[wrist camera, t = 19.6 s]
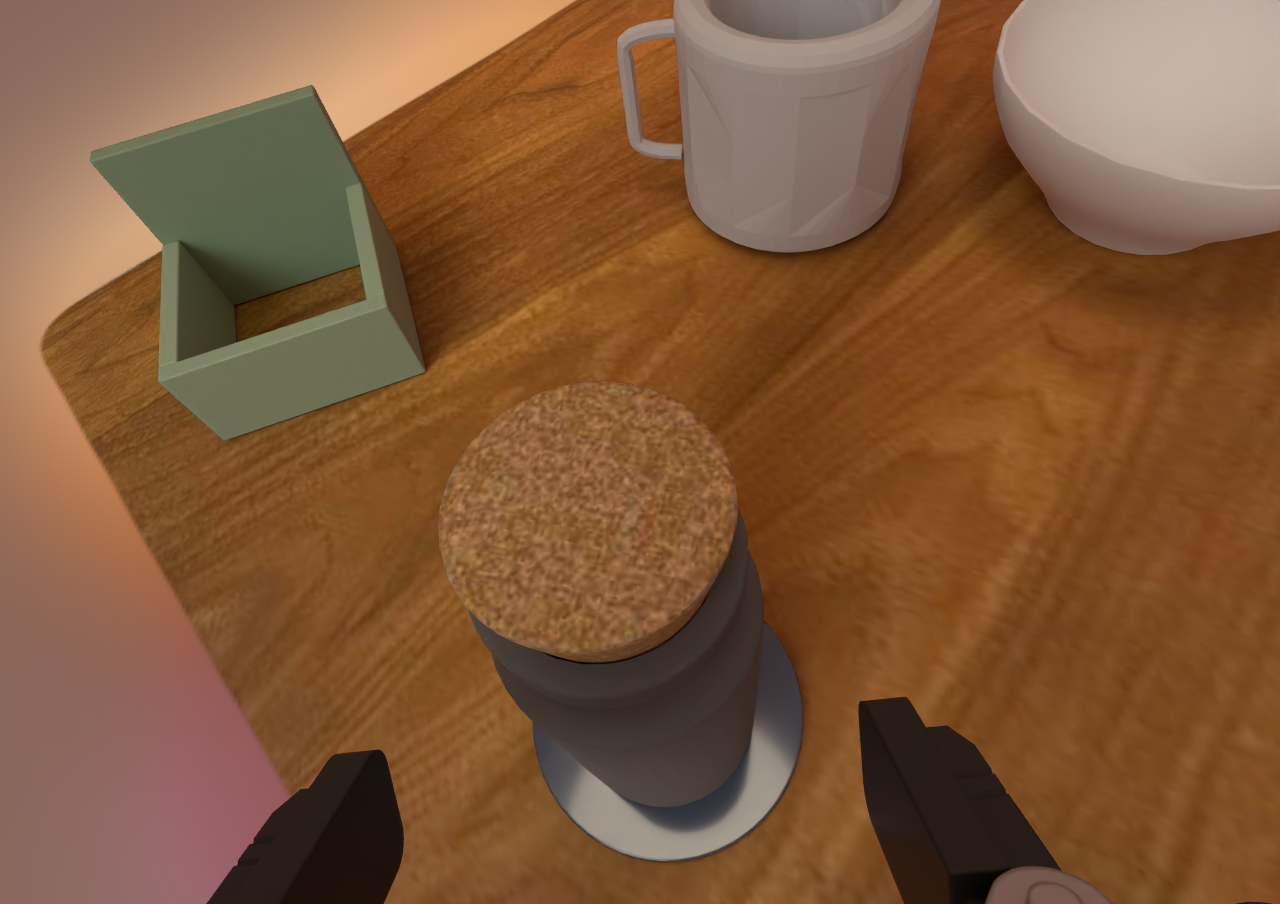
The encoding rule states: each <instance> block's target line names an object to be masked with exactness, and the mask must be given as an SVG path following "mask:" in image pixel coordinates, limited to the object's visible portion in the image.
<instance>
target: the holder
mask: <svg viewBox="0 0 1280 904" xmlns="http://www.w3.org/2000/svg"><path fill="white" fill-rule="evenodd" d="M90 162H91V163H92V164H93V166H94V167H95V168H96V169H97V170H98V171H99V172H100V174H101V175H102V176H103V177H104V178H105V179H106V180H107V182H108V183H109V184H110V185H111V186H112V187H113V188H114V190H115V191H116V192H117V193H118V194H119V195H120V196H121V197H122V198H123V200H124V201H125V202H126V203H127V204H128V205H129V207H130V208H131V209H132V210H133V211H134V212H135V213H136V214H137V216H138V217H139V218H140V219H141V220H142V221H143V223H144V224H145V225H146V226H147V227H148V228H149V229H150V230H151V232H152V233H153V234H154V235H155V236H156V237H157V238H158V240H160V242H161V243H162V244H163V251H162V280H161V308H160V337H159V365H158V366H159V369H158V382H159V383H160V384H161V385H162V386H163V387H164V388H165V389H167V390H168V391H169V392H170V393H171V394H172V395H173V396H174V397H176V398H177V399H178V400H179V401H180V402H181V403H182V404H183V405H185V406H186V407H187V408H188V409H189V410H190V411H191V412H192V413H194V414H195V415H196V416H197V417H198V418H199V419H200V420H201V421H203V422H204V423H205V424H206V425H207V426H208V427H209V428H210V429H211V430H213V431H214V432H215V433H216V434H217V435H218V436H219V437H220V438H222V439H223V440H228V439H231V438H234V437H237V436H240V435H243V434H246V433H249V432H252V431H255V430H258V429H261V428H263V427H266V426H269V425H272V424H275V423H278V422H281V421H284V420H287V419H290V418H293V417H296V416H299V415H302V414H304V413H307V412H310V411H313V410H316V409H319V408H322V407H325V406H328V405H331V404H334V403H337V402H340V401H343V400H346V399H348V398H351V397H354V396H357V395H360V394H363V393H366V392H369V391H372V390H375V389H378V388H381V387H384V386H387V385H390V384H392V383H395V382H398V381H401V380H404V379H407V378H410V377H413V376H416V375H419V374H422V373H425V372H426V370H425V365H424V361H423V357H422V353H421V348H420V344H419V340H418V336H417V332H416V327H415V323H414V319H413V315H412V311H411V306H410V302H409V298H408V294H407V290H406V285H405V281H404V277H403V273H402V269H401V264H400V260H399V256H398V252H397V248H396V244H395V242H394V240H393V238H392V236H391V234H390V232H389V230H388V228H387V226H386V224H385V222H384V221H383V219H382V217H381V215H380V213H379V211H378V209H377V207H376V205H375V203H374V201H373V199H372V197H371V196H370V194H369V192H368V190H367V188H366V186H365V184H364V182H363V180H362V178H361V176H360V174H359V173H358V171H357V169H356V167H355V165H354V163H353V161H352V159H351V157H350V155H349V153H348V151H347V149H346V148H345V146H344V144H343V142H342V140H341V138H340V136H339V134H338V132H337V130H336V128H335V127H334V124H333V123H332V121H331V119H330V117H329V115H328V113H327V111H326V109H325V107H324V105H323V104H322V102H321V100H320V98H319V96H318V94H317V92H316V90H315V88H314V87H313V86H312V85H310V86H307V87H303V88H300V89H296V90H294V91H290V92H286V93H283V94H280V95H277V96H273V97H270V98H267V99H263V100H260V101H257V102H253V103H250V104H247V105H244V106H240V107H237V108H233V109H230V110H227V111H223V112H220V113H217V114H214V115H210V116H207V117H203V118H200V119H197V120H194V121H191V122H187V123H184V124H180V125H177V126H174V127H170V128H167V129H164V130H160V131H157V132H154V133H150V134H147V135H144V136H140V137H137V138H134V139H131V140H127V141H124V142H121V143H117V144H114V145H111V146H107V147H104V148H101V149H98V150H94V151H92V152H91V156H90ZM357 265H360V268H361V273H362V278H363V283H364V289H365V294H366V299H367V300H364V301H361V302H358V303H355V304H352V305H349V306H346V307H343V308H340V309H337V310H334V311H331V312H327V313H324V314H321V315H318V316H315V317H312V318H309V319H306V320H303V321H300V322H297V323H294V324H291V325H288V326H285V327H282V328H279V329H276V330H273V331H270V332H267V333H264V334H261V335H258V336H255V337H252V338H249V339H246V340H243V341H240V342H236V328H235V307H234V305H237V304H240V303H243V302H247V301H250V300H253V299H256V298H259V297H262V296H265V295H268V294H271V293H274V292H277V291H280V290H283V289H287V288H290V287H293V286H296V285H299V284H302V283H305V282H308V281H311V280H314V279H317V278H320V277H323V276H326V275H330V274H333V273H336V272H339V271H342V270H345V269H348V268H351V267H354V266H357Z"/></svg>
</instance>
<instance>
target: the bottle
mask: <svg viewBox="0 0 1280 904" xmlns="http://www.w3.org/2000/svg"><path fill="white" fill-rule="evenodd" d="M438 533H439V545H440V552H441V557H442V561H443V565H444V568H445V572H446V574H447V577H448V579H449V581H450V583H451V585H452V586H453V588H454V589H455V591H456V592H457V594H458V596H459V597H460V599H461V600H462V602H463V604H464V605H465V606H466V607H467V608H468V609H469V613H470V616H471V618H472V621H473V623H474V625H475V627H476V630H477V632H478V633H479V635H480V637H481V638H482V640H483V642H484V643H485V645H486V646H487V647H488V649H489V650H490V652H491V653H492V657H493V660H494V664H495V667H496V669H497V672H498V674H499V676H500V678H501V680H502V682H503V684H504V686H505V688H506V690H507V691H508V693H509V694H510V695H511V697H512V698H513V699H514V701H515V702H516V703H517V705H518V706H519V707H520V709H521V710H522V711H523V712H524V713H525V714H526V715H527V716H528V717H529V718H530V719H531V720H532V721H533V722H534V723H535V724H536V725H537V726H538V727H539V728H540V729H541V730H542V731H543V732H544V733H546V734H547V735H548V736H549V737H550V738H551V739H552V740H553V741H555V742H556V743H557V744H558V745H559V746H560V747H562V748H563V749H564V750H565V751H566V752H567V753H569V754H570V755H571V756H572V757H573V758H574V759H575V760H577V761H578V762H579V763H580V764H581V765H582V766H584V767H585V768H586V769H587V770H588V771H589V772H591V773H592V774H593V775H594V776H596V777H597V778H598V779H599V780H601V781H602V782H603V783H604V784H606V785H607V786H608V787H609V788H611V789H612V790H613V791H615V792H617V793H618V794H620V795H622V796H624V797H625V798H627V799H629V800H631V801H634V802H637V803H640V804H644V805H648V806H655V807H673V806H682V805H685V804H688V803H691V802H694V801H697V800H700V799H702V798H704V797H706V796H707V795H709V794H711V793H712V792H714V791H715V790H716V789H718V788H719V787H720V786H721V785H723V784H724V782H725V781H726V780H727V779H728V778H729V777H730V776H731V775H732V774H733V772H734V771H735V770H736V768H737V766H738V765H739V763H740V762H741V760H742V758H743V756H744V753H745V751H746V749H747V746H748V744H749V741H750V737H751V733H752V728H753V721H754V714H755V706H756V697H757V688H758V679H759V670H760V660H761V651H762V641H763V620H764V606H763V598H762V590H761V583H760V579H759V575H758V572H757V569H756V565H755V563H754V560H753V558H752V556H751V554H750V552H749V549H748V543H747V534H746V530H745V525H744V521H743V519H742V516H741V513H740V511H739V508H738V495H737V489H736V484H735V479H734V474H733V470H732V467H731V463H730V460H729V458H728V456H727V454H726V452H725V450H724V448H723V446H722V444H721V443H720V442H719V440H718V439H717V437H716V436H715V434H714V433H713V431H712V430H711V429H710V428H709V427H708V426H707V425H706V424H705V423H704V421H703V420H702V419H701V418H700V417H699V416H698V415H697V414H695V413H694V412H693V411H691V410H690V409H689V408H687V407H686V406H685V405H683V404H682V403H680V402H678V401H676V400H674V399H672V398H671V397H669V396H667V395H665V394H663V393H660V392H657V391H654V390H652V389H649V388H646V387H642V386H638V385H634V384H630V383H623V382H614V381H592V382H580V383H575V384H570V385H565V386H560V387H557V388H554V389H551V390H548V391H544V392H541V393H539V394H536V395H534V396H532V397H529V398H528V399H526V400H524V401H522V402H520V403H519V404H517V405H515V406H513V407H511V408H510V409H508V410H506V411H505V412H504V413H502V414H501V415H500V416H498V417H497V418H496V419H495V420H493V421H492V422H491V423H489V424H488V425H487V426H486V427H485V428H484V430H483V431H482V432H481V433H480V434H479V435H478V436H477V437H476V438H475V439H474V440H473V441H472V442H471V443H470V445H469V446H468V447H467V449H466V450H465V452H464V453H463V455H462V456H461V458H460V459H459V461H458V463H457V464H456V466H455V467H454V469H453V470H452V473H451V475H450V478H449V480H448V483H447V485H446V488H445V492H444V496H443V499H442V503H441V507H440V512H439V524H438Z"/></svg>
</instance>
